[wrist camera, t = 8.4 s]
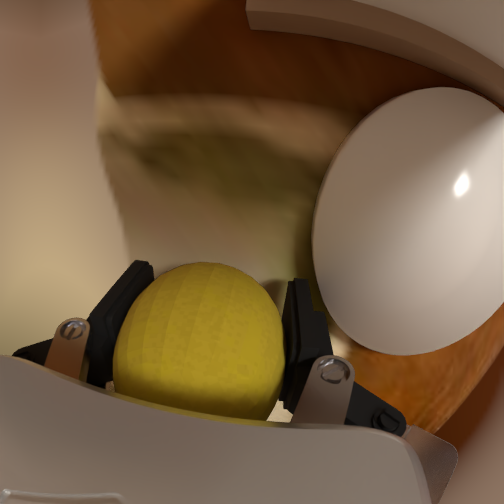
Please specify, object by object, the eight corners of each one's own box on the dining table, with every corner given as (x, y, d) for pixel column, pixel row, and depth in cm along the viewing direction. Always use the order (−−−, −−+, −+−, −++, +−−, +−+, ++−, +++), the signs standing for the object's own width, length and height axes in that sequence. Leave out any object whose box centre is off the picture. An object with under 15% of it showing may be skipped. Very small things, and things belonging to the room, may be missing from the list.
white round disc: (476, 338, 13) (483, 348, 12) (289, 339, 14) (289, 353, 13) (541, 142, 8) (553, 146, 7) (331, 50, 8) (337, 43, 7)
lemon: (270, 342, 14) (263, 495, 6) (163, 321, 14) (101, 457, 6) (297, 242, 11) (322, 427, 4) (163, 219, 11) (39, 356, 4)
